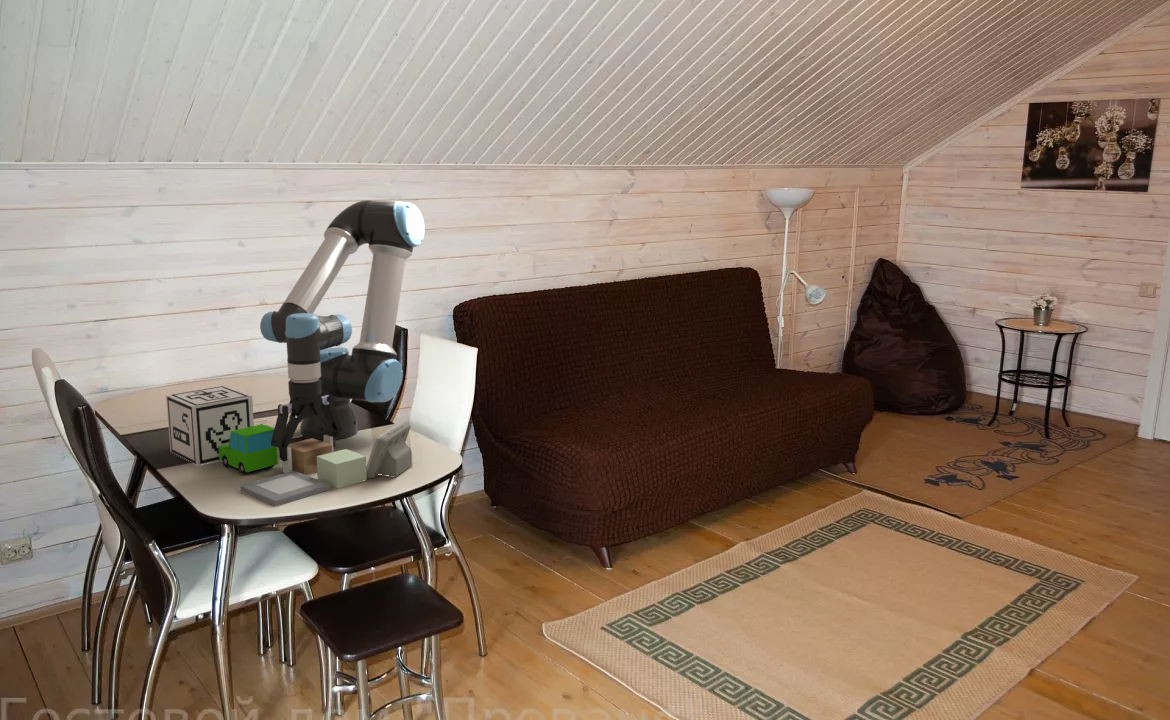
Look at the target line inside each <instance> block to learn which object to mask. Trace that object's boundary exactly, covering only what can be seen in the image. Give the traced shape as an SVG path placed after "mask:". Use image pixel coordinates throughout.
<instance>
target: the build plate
mask: <svg viewBox="0 0 1170 720" xmlns="http://www.w3.org/2000/svg"><path fill="white" fill-rule="evenodd" d="M329 490H331V486H330V484H328V483H326V482H323V481H320V480H318V478H316V477H315V478H314V477H312V476H310V475H305V474H302V473H299V472H297V471H291V472H287V473H284V472H283V473H280V474H277V475H273V476H270V477H267V478H263V479H259V480H257V481H253V482H252V481H251V482H248V483H245V484H242V485H239V491H240V492H241V493H244V494H245V495H246V494H247V495H249V496H251V497H253V496H254V498H256V499H259V500H260V499H261V501H263V502H266V503H268V504H270V505H273V506H275V507H278V506H280V505H284V504H287V503H290V502H293V501H296V500H300V499H303V498H306V497H310V496H313V495H317V494H319V493H322V492H326V491H329Z"/></svg>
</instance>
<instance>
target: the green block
mask: <svg viewBox="0 0 1170 720" xmlns="http://www.w3.org/2000/svg"><path fill="white" fill-rule="evenodd" d="M366 466H367V457H366V455H363V454H361V453H358V452H355V451H353V450H350V449H347V448H345V449H340V450H337V451H333V452H332V453H328V454H324V455H320V456H317V472H316V473H317V475H316V476H317V479H318V480H320V481H323V482H326V483H328V484H330V487H332V488H334V489H337V490H338V489H341V488H344V486H345V487H348V486H351V484H352V485H355V484H358V483H357V482H359V483H361V482H360V481H362V482H364V481H363V480H366V481H367V479H368V478H367V474H366ZM354 483H355V484H354Z"/></svg>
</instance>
